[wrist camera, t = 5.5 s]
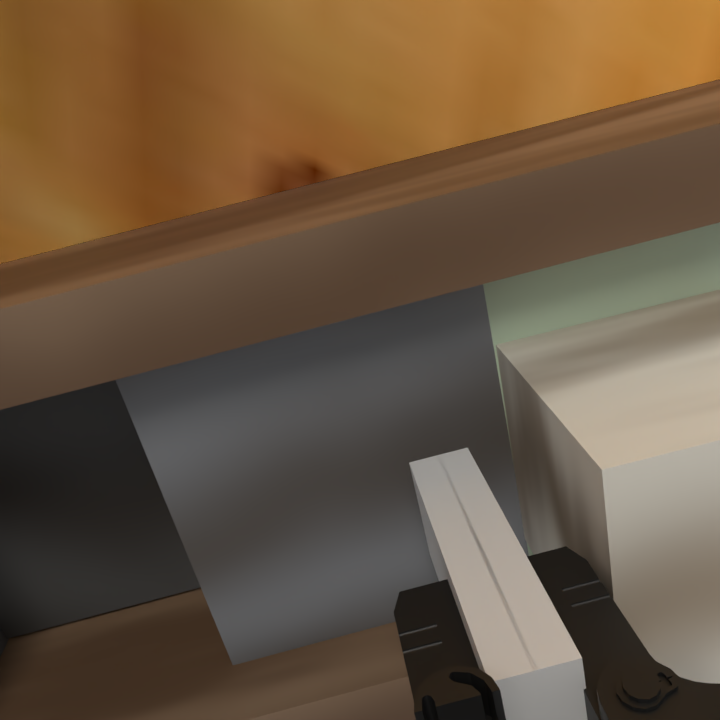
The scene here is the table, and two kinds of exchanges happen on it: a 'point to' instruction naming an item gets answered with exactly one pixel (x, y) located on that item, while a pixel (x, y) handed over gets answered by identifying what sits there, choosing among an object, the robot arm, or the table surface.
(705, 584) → the block
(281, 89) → the table surface
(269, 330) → the trap box
